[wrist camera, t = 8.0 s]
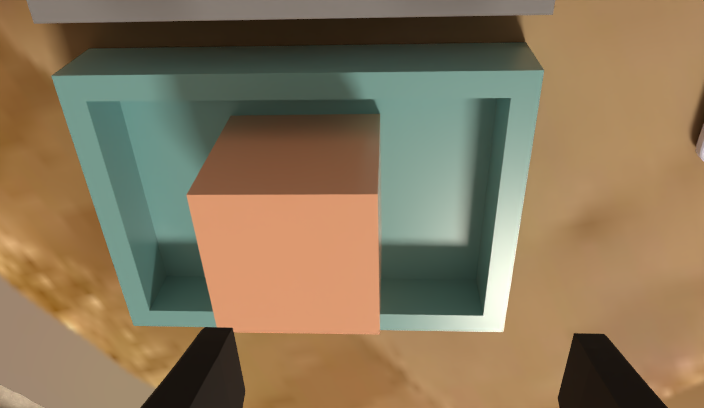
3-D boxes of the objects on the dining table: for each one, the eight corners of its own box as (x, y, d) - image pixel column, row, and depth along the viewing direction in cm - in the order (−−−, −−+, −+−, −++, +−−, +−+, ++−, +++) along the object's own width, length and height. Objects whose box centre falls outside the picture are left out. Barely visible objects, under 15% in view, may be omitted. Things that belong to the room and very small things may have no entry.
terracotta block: (380, 113, 19) (377, 194, 15) (381, 236, 22) (379, 334, 17) (230, 115, 19) (186, 194, 15) (250, 236, 22) (217, 332, 18)
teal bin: (526, 42, 18) (544, 70, 16) (492, 287, 23) (503, 331, 21) (89, 48, 19) (51, 75, 17) (156, 282, 24) (133, 325, 22)
